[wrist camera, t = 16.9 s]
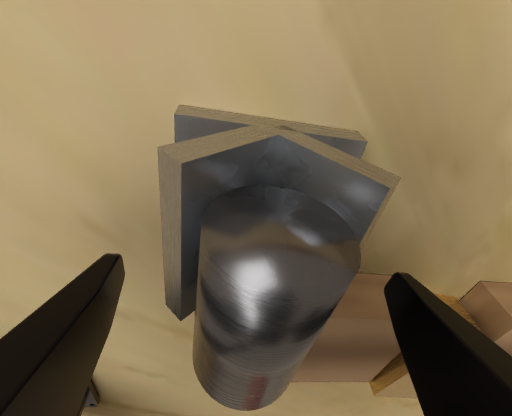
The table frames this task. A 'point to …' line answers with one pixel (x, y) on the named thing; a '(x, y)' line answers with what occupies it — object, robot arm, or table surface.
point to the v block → (255, 180)
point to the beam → (389, 330)
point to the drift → (395, 372)
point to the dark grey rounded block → (265, 289)
